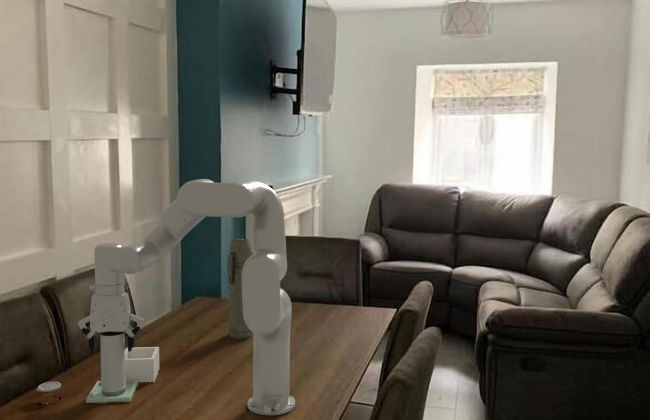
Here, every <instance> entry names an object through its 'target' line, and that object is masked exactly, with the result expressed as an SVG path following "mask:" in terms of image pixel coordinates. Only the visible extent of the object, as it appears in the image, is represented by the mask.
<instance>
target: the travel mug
mask: <svg viewBox="0 0 650 420" xmlns="http://www.w3.org/2000/svg"><path fill="white" fill-rule="evenodd" d="M103 327H105V324H104V325H103ZM99 335H100V336H99V339H100V340H99V342H100V348H99V349H100V375H101V377H100V379H101V380H100V381H101V383H102V394H103V395H106V396H116V395H120V394H122V393H124V392H125V391H126V385H125V384H126V379H125V350H126V348H125V347H126V345H125V342H126V341H125V340H126V339H125V331H124V332H111V331H110V330H109V332H99Z"/></svg>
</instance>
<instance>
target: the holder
mask: <svg viewBox="0 0 650 420" xmlns="http://www.w3.org/2000/svg"><path fill="white" fill-rule="evenodd" d="M158 371H160V347H159V346H145V347H142V346H141V347H137V346H136V347H133V348H132V350H131V352H129V351H128V347H126V348H125V379H126V380H138V382H142V383H141V384H144V383H143V382H145V384H146V382H149V383H150V382H153V383H155V381H156V379H157V376H158V374H159V372H158ZM149 383H148V384H149Z"/></svg>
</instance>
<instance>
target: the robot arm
mask: <svg viewBox="0 0 650 420" xmlns="http://www.w3.org/2000/svg"><path fill="white" fill-rule="evenodd" d="M249 215H251V217H252V228H251V238H252V252H253V253H252V255H251V256H250V257H249V258H248V259H247V260H246V262H245V264H244V266H243V270H242V301H243V316H244V321H245V323H246V325H247V327H248V328H249V329H250V330H251V331H252V332H253V336H252V338H253V344H252V347H253V348H252V360H253V361H252V362H253V363H252V365H253V366H252V368H253V369H252V372H253V373H252V375H253V376H252V379H253V381H252V382H253V383H252V384H253V387H252V388H253V389H252V390H253V391H252V393H253V394H252V396H251V397H250V398H249V399H248V401H247V405H246V406H247V408H248V410H249V411H250V412H252V413H254V414H257V415H259V416H260V415H261V416H279V415H280V416H281V415H283V414H286V413H289V412H291V411H292V410H294V409H295V407H296V399H295V397H294V396H292V395H290V380H291V379H290V378H291V377H290V370H291V369H290V366H291V365H290V363H291V361H290V360H291V359H290V358H291V357H290V353H291V352H290V351H291V345H290V344H291V326H292V325H291V322H292V311H293V310H292V307H293V306H292V301H291V297H290V296H289V294H288V293H287V292H286V291H285V290H284V289H283V288H281V281H282V279H284V277H285V276H286V273H287V271H288V260H287V241H286V224H285V223H286V222H285V210H284V206H283V204H282V201H281V198H280V197H279V195H278V193H276V191H275V189H274V190H273V189H272V188H271V187H270V186H269V185H267V184H265V183H263V182H261V181H258V180H252V179H251V180H249V179H248V180H242V181H238V182H214V181H213V180H211V179H208V178H201V179H194V180H188V181H186V182H185V183H184V184H183V185H182V186H180V188H179V190H178V192H177V195H176V199H174V200H173V201H172V202H171V203H170V204H169V205H168V206H167V207H166V208H165V209H163V210H162V211H161V213H160V215H159V220H160V221H159V223H158V224H157V226H156V227H155V228H154V229H152V231H151V232H150V233H149V234H148V235H146V237H144V238H143V239H142V240H140V241H138V242H135V243H132V244H130V245H129V244H128V245H127V246H125V245H124V246H123V244H121V243H118V242H117V243H116V242H106V243H105V242H104V243H99V244H97V245H96V246H95V247H94V251H93V252H94V255H93V256H94V257H93V258H94V284H90V285H89V291H93V292H94V294H93V295H92V296H91V302H90V313H89V314H90V315H88V316H86V317H84V318H81V319H80V320H79V321H77V325H78V327H79V328H80V331H81V333H83V334H84V335H85V336H86V337H87V339H88V349H90V353H95V352H96V350H97V335H96V333H100V332H109V330H110V331H111V332H124V333H126V334H127V348H128V351H129V352H131V350H132V348H135V347H136V345H135V342H136V341H135V335H136V334H137V333H138V332H139V331H140V329H141V328H142V326H143V325H144V323H145V319H144V318H142V317H140V316H137V315H135V314H133V313H132V312H131V311H132V310H131V303H130V297H129V294H128V292H126V281H125V279H126V277H125V274H126V275H135V274H138V273H140V272H143V271H144V270H147V269H149V268H151V267H154V266H155V265H156V264H158V262H160V261H161V260H162V259H163V258H164V257H165V256H167V255H168V254H169V253H170V252H171V251H172V250H173V249H174V248H175V247H176V246H177V245H178V243H180V242H181V241H182V240H183V238H184V237H185V236H186V235H187V234H188V233H189V232H191V230H193V229H194V228H195V227H196V226H197V225H198V224H199V223H201V221H203V220H204V219H205V218H206V217H216V218H242V217H246V216H249ZM132 321H133V322H135V323H137V325H136V326H135V327H134V328H133V327H132ZM88 322H89V327H90V328H89V327H88V326H86V324H87V323H88ZM104 324H105V327H103V325H104Z"/></svg>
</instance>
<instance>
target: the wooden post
mask: <svg viewBox="0 0 650 420" xmlns="http://www.w3.org/2000/svg"><path fill="white" fill-rule="evenodd" d="M252 253H253V250H252V245H251V242H250V239H247V238H245V237H243V238H242V237H238V238H233V239H231V242H230V246H229V253H228V255H227V258H226V259H227V264H226V265H227V269H226V271H227V273H226V274H227V288H228V290H229V315H228V320H227V321H228V331H229V333H228V337H229V338H231V339H234V340H246V339H249V338H253V336H254V333H253V332H252V331H251V330H250V329H249V328H248V327H247V325H246V323H245V321H244V316H243V301H242V270H243V266H244V264H245V262H246V260H247V259H248V258H249V257H250V256H251V255H252Z"/></svg>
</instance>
